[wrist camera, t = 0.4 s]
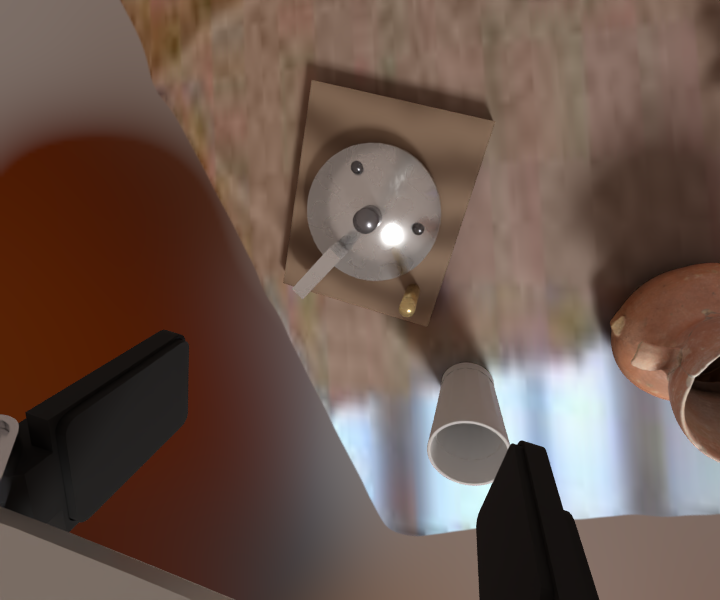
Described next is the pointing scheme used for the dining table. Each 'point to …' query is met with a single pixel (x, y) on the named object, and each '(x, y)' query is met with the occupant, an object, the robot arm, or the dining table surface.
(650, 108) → the dining table surface
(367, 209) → the post and dowel
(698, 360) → the ceramic jug
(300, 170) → the base board
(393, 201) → the flange plate
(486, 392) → the cup
